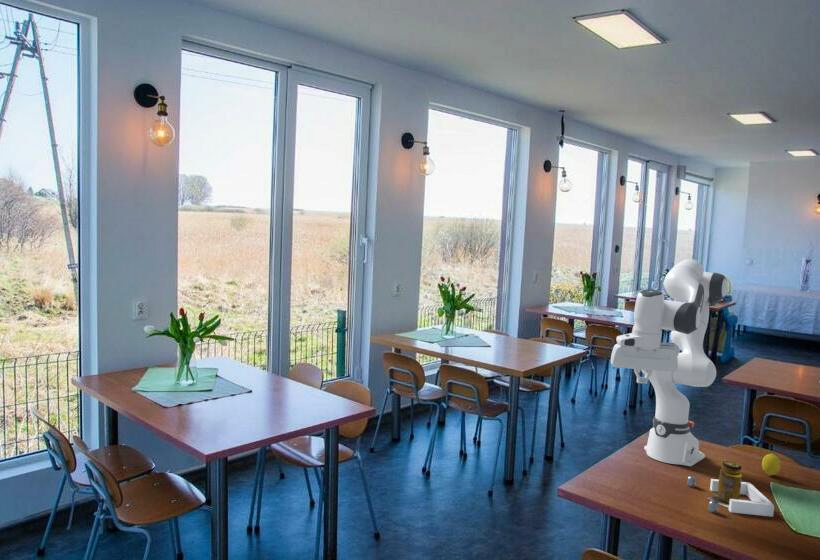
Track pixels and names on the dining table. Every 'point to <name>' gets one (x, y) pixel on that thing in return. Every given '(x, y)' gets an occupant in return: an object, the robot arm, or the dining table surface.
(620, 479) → the dining table surface
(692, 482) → the cylinder
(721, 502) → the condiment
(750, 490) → the holder
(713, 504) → the cylinder
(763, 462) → the lemon
